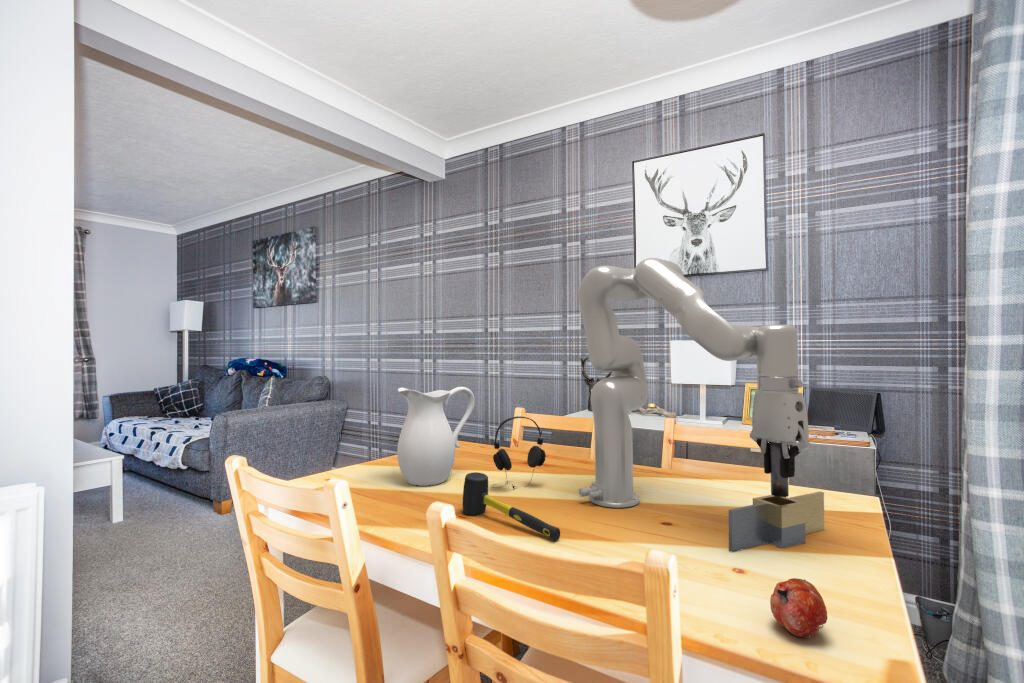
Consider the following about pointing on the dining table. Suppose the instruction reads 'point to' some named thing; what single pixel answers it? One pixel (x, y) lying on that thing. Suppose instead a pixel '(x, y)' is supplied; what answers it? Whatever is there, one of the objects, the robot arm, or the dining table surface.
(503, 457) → the headphones
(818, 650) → the dining table surface
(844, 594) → the dining table surface
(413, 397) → the pitcher
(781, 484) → the hinge pin
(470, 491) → the mallet
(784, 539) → the hinge
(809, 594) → the pomegranate
